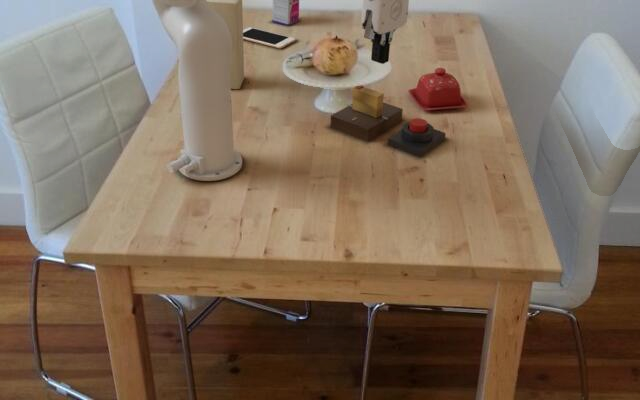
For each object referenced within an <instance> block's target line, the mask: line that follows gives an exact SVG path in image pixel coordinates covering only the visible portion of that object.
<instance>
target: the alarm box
mask: <svg viewBox="0 0 640 400" xmlns="http://www.w3.org/2000/svg"><path fill="white" fill-rule="evenodd" d="M409 125H410V121H406V122H405V123H403V124H402V127H401V129H400V130H399V131H397V132H396V133H394V134H392V135H391V136H390V137H388V138H387V146H389V147H391V148H395V149H396V150H399V151H402V152H405V153H408V154H410V155H412V156H415V157H418V158H421V157H423V156H425V154H427V153H429V152H430V151H432V150H433V149H434V148H436V147H438V145H440V144H441V143H443V142H444V141H445V140H446V133H447V132H444V131H441V130H438V129H436V128H434V126H432V124H431V123H428V122H427V129H426V132H421V133H417V132H413V131H410V130H409Z"/></svg>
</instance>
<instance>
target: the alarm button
mask: <svg viewBox="0 0 640 400" xmlns="http://www.w3.org/2000/svg"><path fill="white" fill-rule="evenodd" d="M409 122H410V125H409V130H410V131H413V132H417V133H421V132H426V129H427V123H428V121H427V120H426V119H423V118H419V117H417V118H415V117H414V118H412V119H410V121H409Z"/></svg>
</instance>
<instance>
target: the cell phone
mask: <svg viewBox="0 0 640 400" xmlns="http://www.w3.org/2000/svg"><path fill="white" fill-rule="evenodd" d="M296 39H297V38H296V37H292V36H289V35H284V34H281V33H280V34H279V33H276V32H272V31H267V30H264V29H260V28H255V27H250V26H249V27H245V28H243V40H245V41H248V42H254V43H257V44H261V45H264V46H265V45H266V46H269V47H272V48H277V49H283V48H285V47H286V46H287V47H288V46H289V45H290V44H292V43H294V42H296Z"/></svg>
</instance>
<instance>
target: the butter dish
mask: <svg viewBox="0 0 640 400" xmlns="http://www.w3.org/2000/svg"><path fill="white" fill-rule="evenodd" d="M407 92H408V94H409V95H410V96H411V98H412V99H413V100H414V102H415V103H416V104H417V106H418V107H419V108H420V109H421V110H423V111H436V110H449V109H459V108H460V109H462V108H467V107H468V103H467V101H466V100H465V99H464V98H463V96H462V95H461V94H462V93H461V85H460V83H459V81H458V80H457V79H456V78H455V76H454V75H453V74H451V73H449V72H447V70H446V69H445V68H443V67H436V68H435V69H434V72H430V73H429V72H428V73H426V74H423V75H421V76H420V77H419V79H418V82H417V85H416V88H410V89H408V91H407Z"/></svg>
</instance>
